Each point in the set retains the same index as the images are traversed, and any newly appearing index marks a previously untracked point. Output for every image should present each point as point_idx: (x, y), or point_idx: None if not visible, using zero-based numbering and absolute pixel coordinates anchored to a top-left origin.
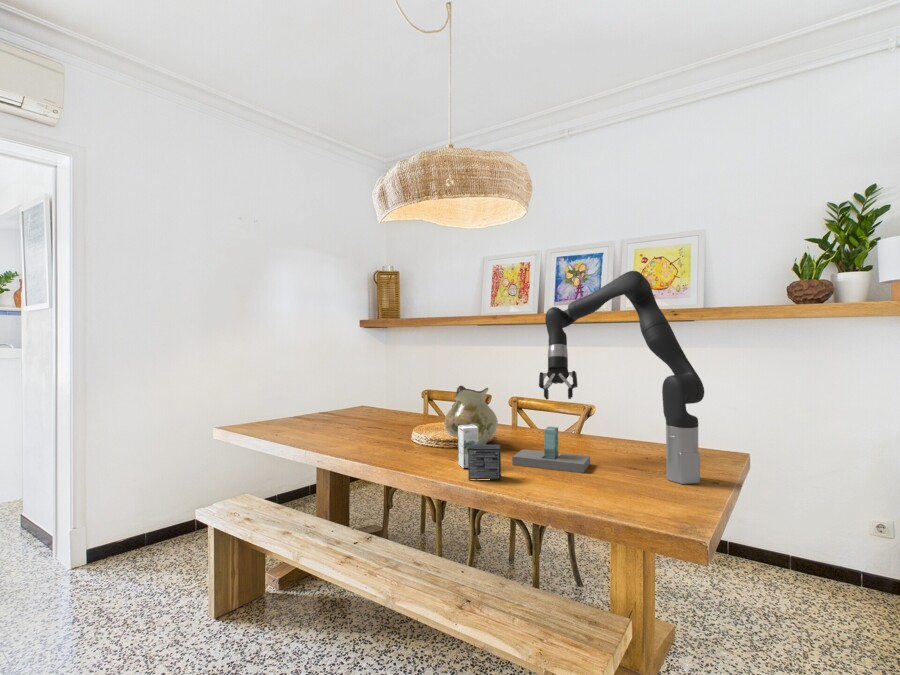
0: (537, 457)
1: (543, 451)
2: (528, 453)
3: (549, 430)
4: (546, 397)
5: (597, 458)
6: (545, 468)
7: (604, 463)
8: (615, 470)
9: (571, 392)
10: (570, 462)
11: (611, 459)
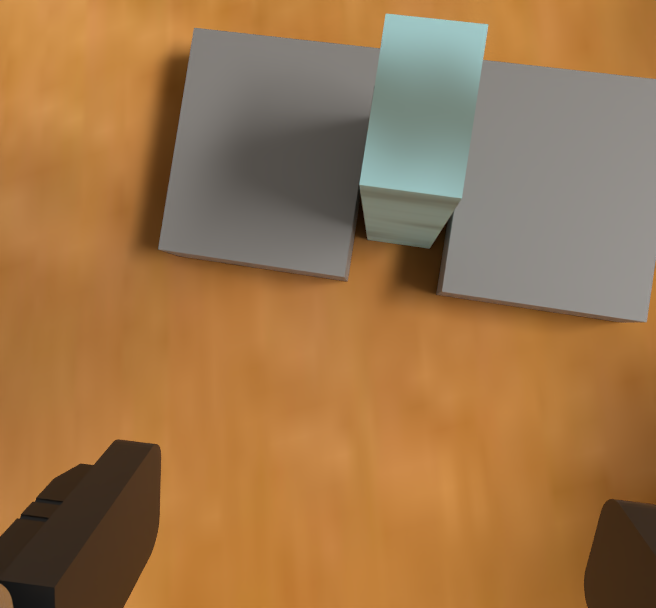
0: (499, 109)
1: (480, 295)
2: (580, 205)
3: (432, 21)
4: (635, 506)
5: (135, 421)
6: None
7: (96, 306)
8: (42, 166)
9: (24, 520)
10: (274, 45)
11: (53, 417)
